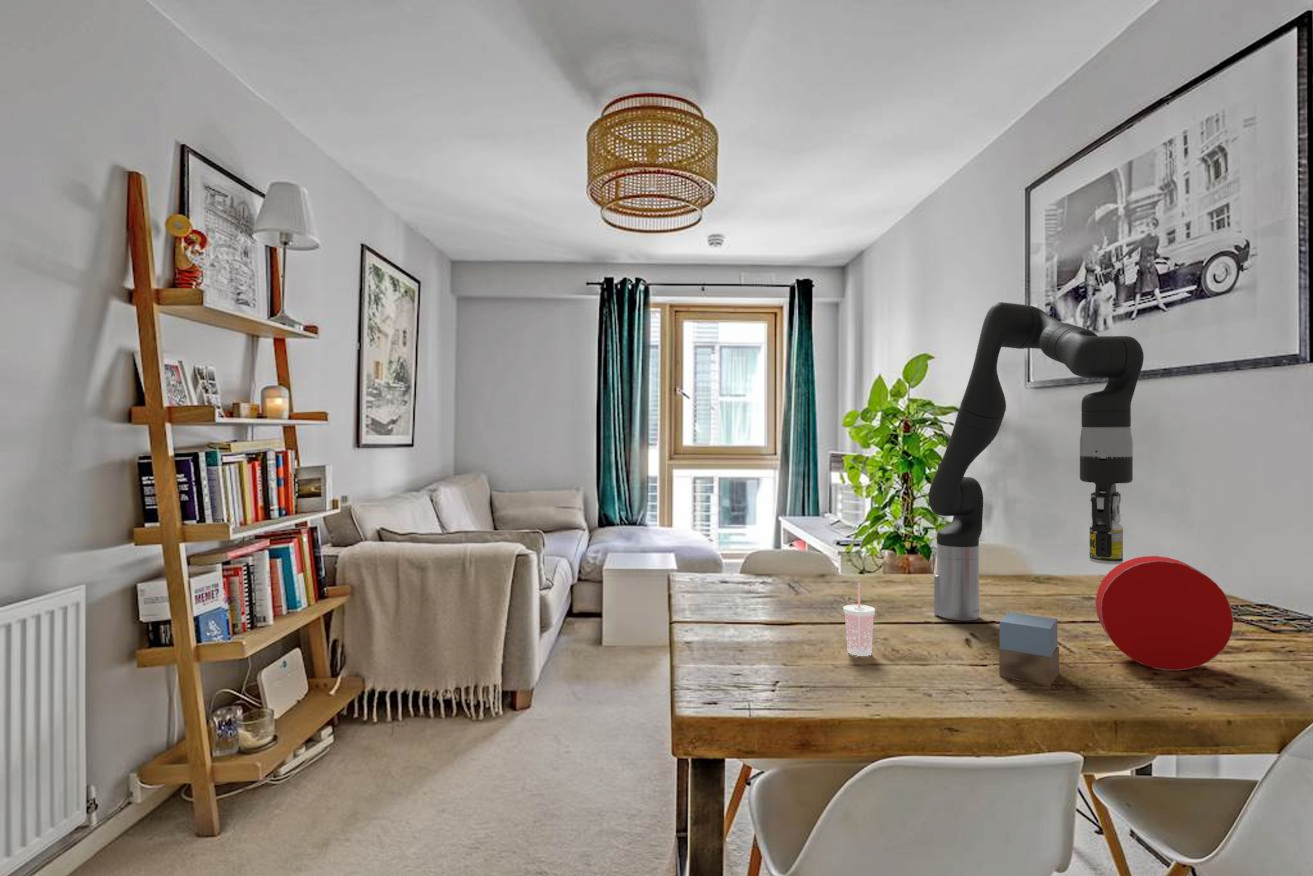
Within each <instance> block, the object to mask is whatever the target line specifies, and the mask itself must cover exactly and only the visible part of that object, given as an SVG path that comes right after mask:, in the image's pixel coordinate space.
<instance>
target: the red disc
mask: <svg viewBox="0 0 1313 876" xmlns="http://www.w3.org/2000/svg"><path fill="white" fill-rule="evenodd" d="M1095 595H1096V596H1095V611H1096V615H1097V618H1098V621H1099V623H1100V625H1101V626H1102V629H1103V631H1104V632H1105V633H1106V635H1107V637H1108V638H1109V639H1110V641H1112V643H1113V644H1114V645H1115V647H1116V648H1118V649H1119V650H1120V651H1121V653H1123V654H1124V655H1126V656H1127V657H1129V658H1130V660H1131V659H1132V660H1133V661H1135V662H1136V663H1139V664H1141V665H1144V666H1147V667H1150V668H1153V669H1157V670H1163V671H1182V670H1189V669H1193V668H1198V667H1200V666H1202V665H1204V664H1207V663H1209V662H1211V661H1212V660H1213V659H1215V658H1216V657H1217V656H1219V655H1220V653H1221V652H1222V651H1223V650H1224V649H1225V647H1226V646H1227V644H1228V642H1229V641H1230V639H1231V636H1232V633H1233V629H1234V628H1233V626H1234V614H1233V610H1232V607H1231V603H1230V600H1229V599H1228V597H1227V596H1226V594H1225V592H1224V591H1223V590H1222V589H1221V587H1220V586H1219V585H1218V584H1217V583H1216V582H1215V581H1214V580H1213V579H1212V578H1211V577H1209V576H1208V575H1206V574H1205V573H1203V572H1202V571H1200V570H1198V569H1196V568H1195V567H1193V566H1191V565H1190V564H1188V563H1185V562H1183V561H1180V560H1179V559H1178V560H1177V559H1174V558H1171V557H1166V556H1159V555H1148V556H1147V555H1146V556H1145V555H1144V556H1140V557H1134V558H1132V559H1128V560H1125V561H1123V563H1122V564H1117V565H1116V566H1114V568H1112V569H1111V570H1110V571H1109V572H1108V573H1107V574H1106V575H1105V576H1104V578H1103V579H1102V581H1101V582H1100V583H1099V586H1098V589H1097V592H1096V594H1095Z"/></svg>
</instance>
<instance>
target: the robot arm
mask: <svg viewBox="0 0 1313 876" xmlns="http://www.w3.org/2000/svg"><path fill="white" fill-rule="evenodd" d="M1002 348H1010V349H1017V350H1018V349H1019V350H1021V349H1022V350H1024V349H1035V350H1036V349H1038V350H1039V349H1040V350H1041V352H1042V353H1043V354H1044V355H1045V356H1046V357H1048V358H1049V359H1052V360H1053V361H1056V362H1058V363H1061V364H1064V365H1065V367H1066V368H1067V369H1069V371H1070V372H1071V373H1072V374H1073V375H1075V376H1078V377H1081V378H1086V379H1088V378H1089V379H1106V378H1107V379H1108V381H1107V383H1106V385H1105V387H1104V388H1103V389H1102V390H1099V391H1095V392H1091V393H1087V394H1085V395H1084V396H1083V398H1082V400H1081V430H1080V438H1079V479H1080V481H1081V482H1084V483H1093V484H1095V487H1094V491H1093V492H1092V493H1090V498H1089V499H1090V502H1091V520H1092V521H1091V522H1092V525H1093V526H1092V529H1093V531H1094V533H1095V534H1096V555H1097V556H1098V557H1107V558H1109V557H1111V555H1112V533H1113V530H1112V528H1113V522H1115V521H1116V518H1117V513H1119V514H1120V515H1121V513H1120V512H1121V508H1120V507H1121V506H1120V505H1121V502H1122V494H1121V492H1119V491H1117V484H1129V483H1131V482H1133V480H1134V479H1133V477H1134V476H1133V475H1134V474H1133V473H1134V472H1133V466H1134V465H1133V463H1134V461H1133V460H1134V459H1133V454H1134V453H1133V451H1134V450H1133V444H1134V443H1133V435H1132V428H1131V423H1132V420H1131V419H1132V418H1131V417H1132V415H1131V413H1132V411H1131V410H1132V407H1131V406H1132V400H1133V397H1134V394H1135V391H1136V387H1137V383H1138V381H1139V377H1140V375H1141V371H1142V369H1143V364H1144V357H1145V356H1144V350H1143V347H1142V345H1141V343H1140V342H1139V341H1138V340H1137V339H1136V338H1134V337H1132V336H1129V335H1111V336H1109V335H1108V336H1107V335H1106V336H1105V335H1099V336H1098V334H1096V333H1095V332H1094V331H1092V330H1090V329H1087V328H1084V327H1081V326H1077V325H1075V324H1071V323H1067V322H1063V321H1059V320H1058V319H1056V318H1055V317H1052V316H1051V315H1049V314H1048V313H1047V312H1046V311H1044V310H1042V309H1041V308H1039V307H1036V306H1034V305H1029V304H1021V303H1012V302H996V303H994V304H992V305H991V307H990V308H989V309H988V311H987V312H986V315H985V317H984V320H983V323H982V327H981V330H980V335H979V339H978V344H977V349H976V353H975V357H974V362H973V366H972V368H971V369H972V370H971V372H970V375H969V380H968V382H967V385H966V389H965V391H964V394H963V397H962V400H961V402H960V405H959V407H958V411H957V415H956V419H955V422H954V426H953V429H952V432H951V435H950V437H949V441H948V444H947V446H946V449H945V452H944V455H943V457H942V459H941V461H940V464H939V465H938V468H937V469H936V472H935V475H934V477H933V479H932V482H931V485H930V487H929V492H928V504H929V508H930V509H931V511H932V512H933V513H934V514H935V515H937V516H942V517H953V518H952V520H951V522H950V523H949V524H948V525H947V526H946V527H943V528H942V529H940V530H938V532H937V533H936V574H935V575H934V576H933V586H934V587H933V589H934V590H933V592H934V593H933V599H934V600H933V601H934V602H933V605H934V608H933V609H934V614H933V615H934V616H937V615H938V616H939V617H941V618H944V619H948V620H953V621H965V622H966V621H976V620H979V619H980V537H981V535H982V532H983V531H982V530H983V518H984V517H983V515H984V493H983V489H982V486H981V484H980V483H979V481H978V479H976V478H974V477H972V476H965V474H966V472H967V470H968V469H969V467H970V466H971V464H972V463H973V462H974V460H975V459H977V458H978V456H979V455H980V454H982V453H983V452H984V451H985V449H987V448H988V446H989V445H991V443H992V442H993V441H994V439H995V438H996V437H997V436H998V434H999V430H1000V427H1001V426H1002V422H1003V420H1004V417H1005V413H1006V410H1007V402H1006V397H1005V394H1004V391H1003V387H1002V385H1001V381H1000V379H999V375H998V374H999V373H998V360H999V356H1000V352H1001V349H1002ZM1110 514H1111V515H1110ZM1099 521H1106V524H1107V525H1103V524H1099Z"/></svg>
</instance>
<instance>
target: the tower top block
mask: <svg viewBox="0 0 1313 876" xmlns="http://www.w3.org/2000/svg"><path fill="white" fill-rule="evenodd" d="M1057 647H1059V646H1058V618H1054V617H1053V618H1052V617H1047V616H1039V615H1032V614H1025V613H1018V612H1011V611H1008V612H1007V614H1005V615H1004V616H1003V617H1002V619H1001V620H999V649H1001V650H1007V651H1013V652H1019V653H1025V654H1031V655H1037V656H1043V657H1049V658H1051V656H1052V654H1053V653H1054V651H1055V649H1056V648H1057Z"/></svg>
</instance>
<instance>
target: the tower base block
mask: <svg viewBox="0 0 1313 876" xmlns="http://www.w3.org/2000/svg"><path fill="white" fill-rule="evenodd" d="M998 651H999V652H998V654H999V655H998V657H999V662H998V663H999V664H998V665H999V667H998V668H999V669H998V672H999V674H998V676H999V677H1001V676H1003V677H1002V678H1006V677H1008V678H1007V679H1011V678H1014V679H1013V680H1016V679H1018V680H1017V681H1020V680H1022V681H1021V682H1025V681H1027V683H1030V682H1032V683H1031V684H1035V685H1040V686H1047V687H1051V685H1052V684H1053V683H1054V682H1055V680H1056V679H1057V678H1058V677H1059V675H1060V647H1059V646H1057V648H1056V649H1055V651H1054V653H1053V654H1052V656H1051V658H1049V657H1043V656H1037V655H1031V654H1025V653H1019V652H1013V651H1007V650H1001V649H1000V648H999V649H998ZM1058 674H1059V675H1058Z"/></svg>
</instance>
